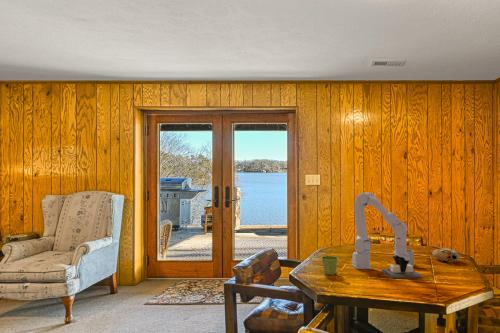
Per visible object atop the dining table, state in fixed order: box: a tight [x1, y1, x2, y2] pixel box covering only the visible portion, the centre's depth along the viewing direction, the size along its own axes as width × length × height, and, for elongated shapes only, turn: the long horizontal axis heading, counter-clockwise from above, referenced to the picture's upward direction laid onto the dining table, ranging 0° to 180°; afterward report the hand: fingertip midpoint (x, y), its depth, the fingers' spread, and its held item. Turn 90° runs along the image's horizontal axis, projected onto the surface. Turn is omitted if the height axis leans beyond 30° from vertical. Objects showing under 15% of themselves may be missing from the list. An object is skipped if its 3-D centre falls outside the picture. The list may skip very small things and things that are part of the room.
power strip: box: [389, 264, 414, 274], centre depth 184 cm, size 11×4×5 cm, turn 92°
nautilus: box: [431, 247, 460, 266], centre depth 210 cm, size 8×21×15 cm
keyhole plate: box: [381, 268, 422, 279], centre depth 185 cm, size 16×12×2 cm
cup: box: [407, 248, 415, 267], centre depth 204 cm, size 7×10×9 cm
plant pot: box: [320, 255, 339, 276], centre depth 187 cm, size 9×9×9 cm
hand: (401, 270), depth 184 cm, fingers closed on power strip, 4 cm apart
